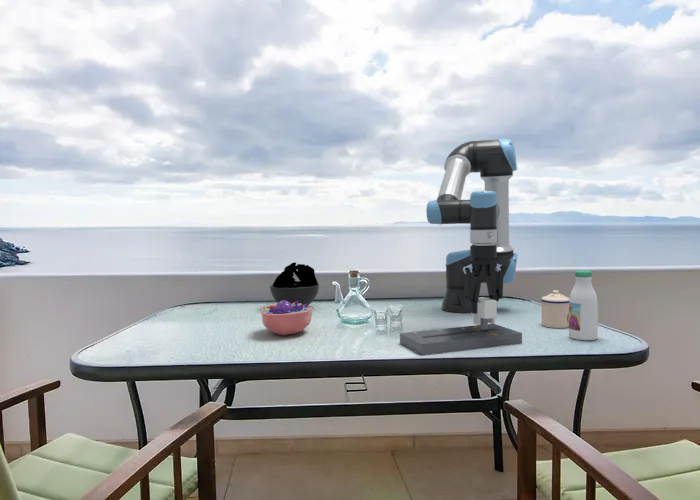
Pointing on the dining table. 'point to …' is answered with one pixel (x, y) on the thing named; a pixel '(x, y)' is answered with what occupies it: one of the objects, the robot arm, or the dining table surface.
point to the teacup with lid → (555, 310)
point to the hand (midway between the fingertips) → (483, 323)
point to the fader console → (459, 338)
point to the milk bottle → (583, 308)
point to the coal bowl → (295, 285)
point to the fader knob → (487, 311)
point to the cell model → (286, 317)
